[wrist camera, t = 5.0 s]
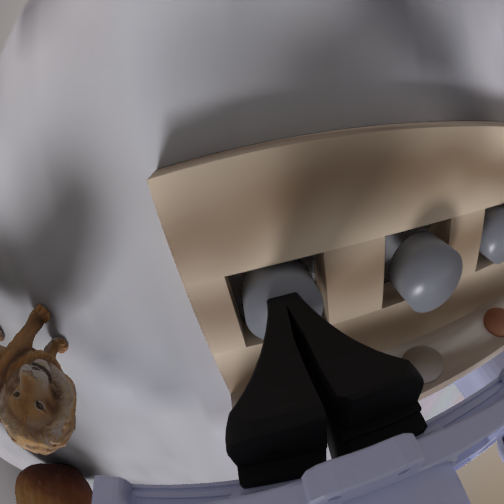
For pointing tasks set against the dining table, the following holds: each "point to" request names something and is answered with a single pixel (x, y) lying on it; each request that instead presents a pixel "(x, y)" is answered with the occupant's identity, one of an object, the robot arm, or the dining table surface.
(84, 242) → the dining table surface
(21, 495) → the butternut squash
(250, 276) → the button end
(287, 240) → the button board
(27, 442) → the lion figurine
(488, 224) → the button end
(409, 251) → the button middle
